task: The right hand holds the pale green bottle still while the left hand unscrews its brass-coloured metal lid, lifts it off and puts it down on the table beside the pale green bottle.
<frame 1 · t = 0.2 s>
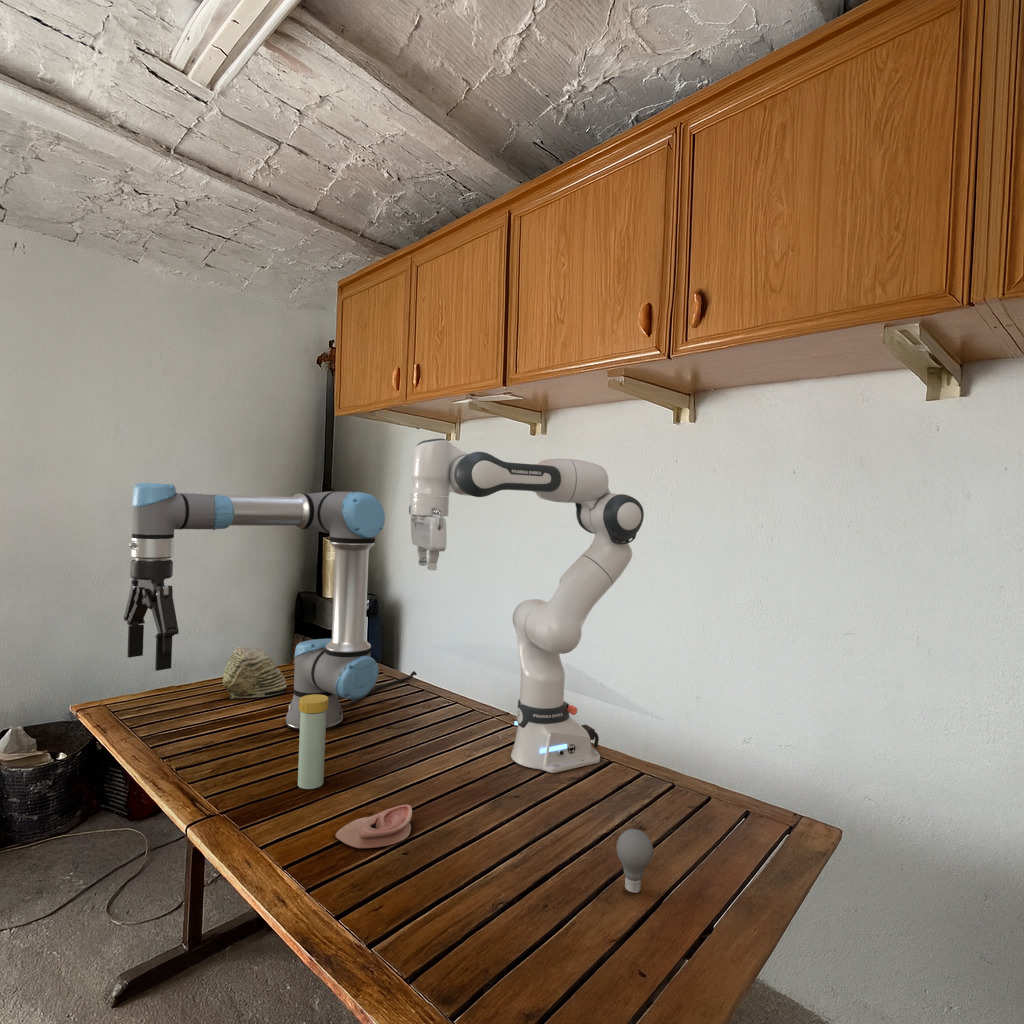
left hand: (148, 662, 129), 28 cm above the table, tool pointing down, fingers open, 13 cm apart
right hand: (427, 567, 147), 48 cm above the table, tool pointing down, fingers open, 8 cm apart
pale green bottle: (310, 783, 140), on the table
anatomical model: (374, 834, 120), on the table
light bulb: (632, 891, 106), on the table
fossil: (254, 694, 198), on the table
lid: (313, 700, 139), point 19 cm above the table, screwed on, not yet turned
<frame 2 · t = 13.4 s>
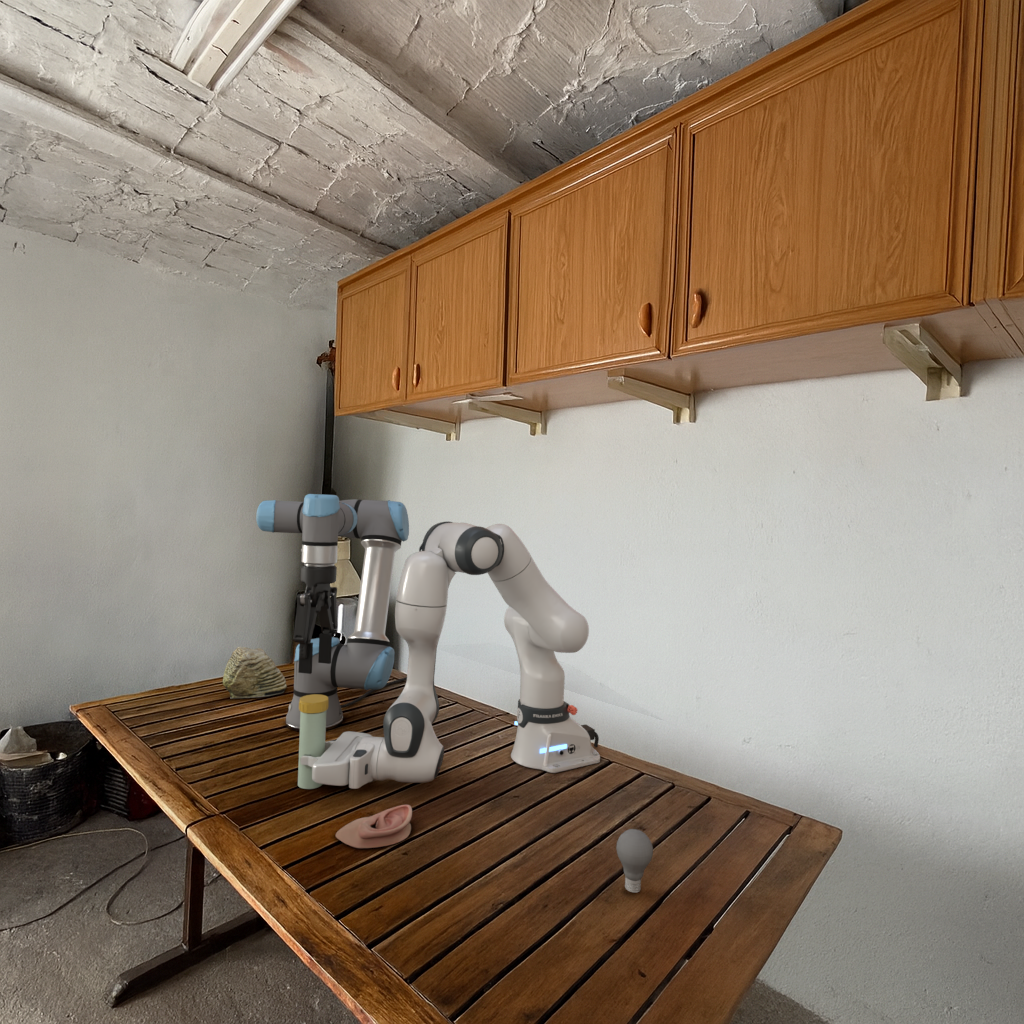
left hand: (315, 667, 139), 26 cm above the table, tool pointing down, fingers open, 8 cm apart
right hand: (307, 753, 140), 7 cm above the table, tool horizontal, fingers closed on pale green bottle, 5 cm apart
pale green bottle: (310, 783, 140), on the table, touching right hand
everything else where it was.
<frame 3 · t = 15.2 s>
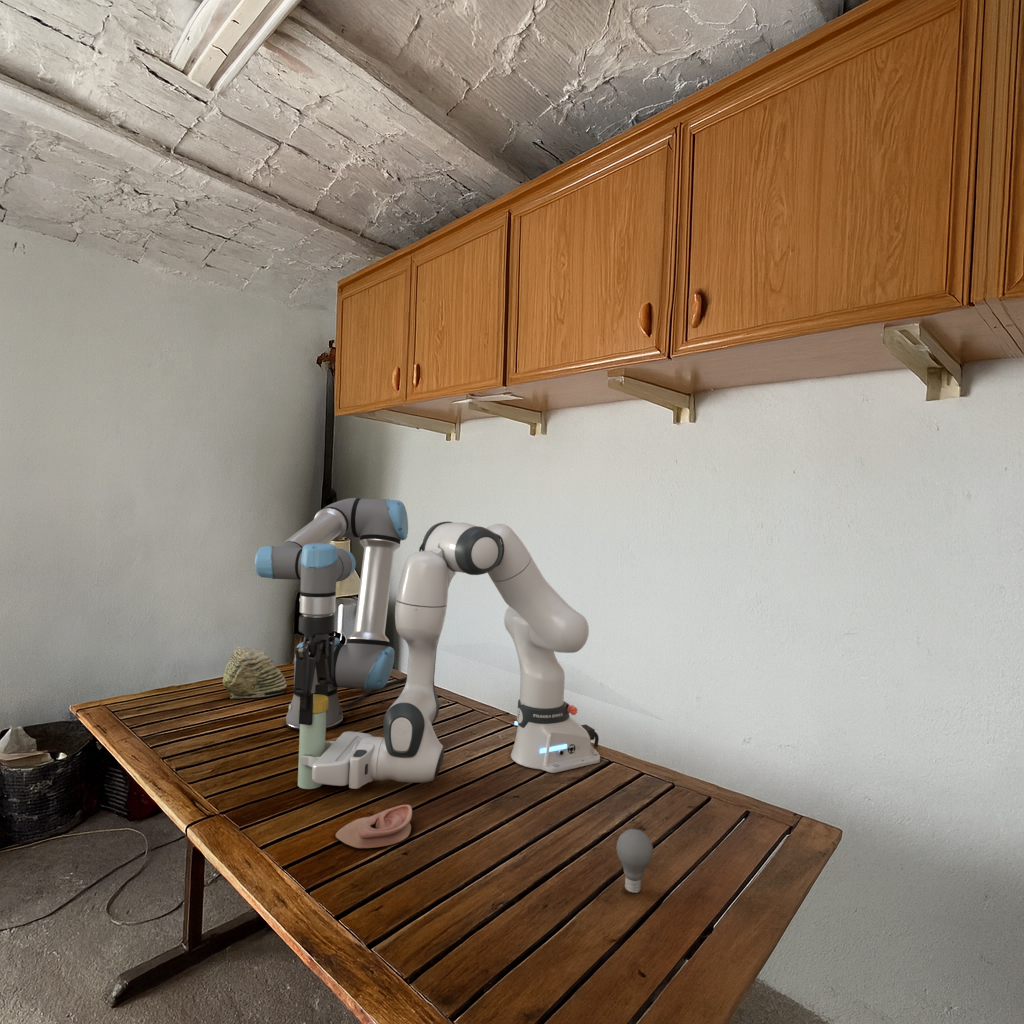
left hand: (313, 718, 139), 14 cm above the table, tool pointing down, fingers closed on lid, 6 cm apart
right hand: (307, 753, 140), 7 cm above the table, tool horizontal, fingers closed on pale green bottle, 5 cm apart
pale green bottle: (310, 783, 140), on the table, touching right hand
lid: (313, 700, 139), point 19 cm above the table, screwed on, not yet turned, touching left hand
everything else where it was.
when the left hand's fingers open (15 cm above the table, at t = 16.4 s): lid stays where it is, point 19 cm above the table.
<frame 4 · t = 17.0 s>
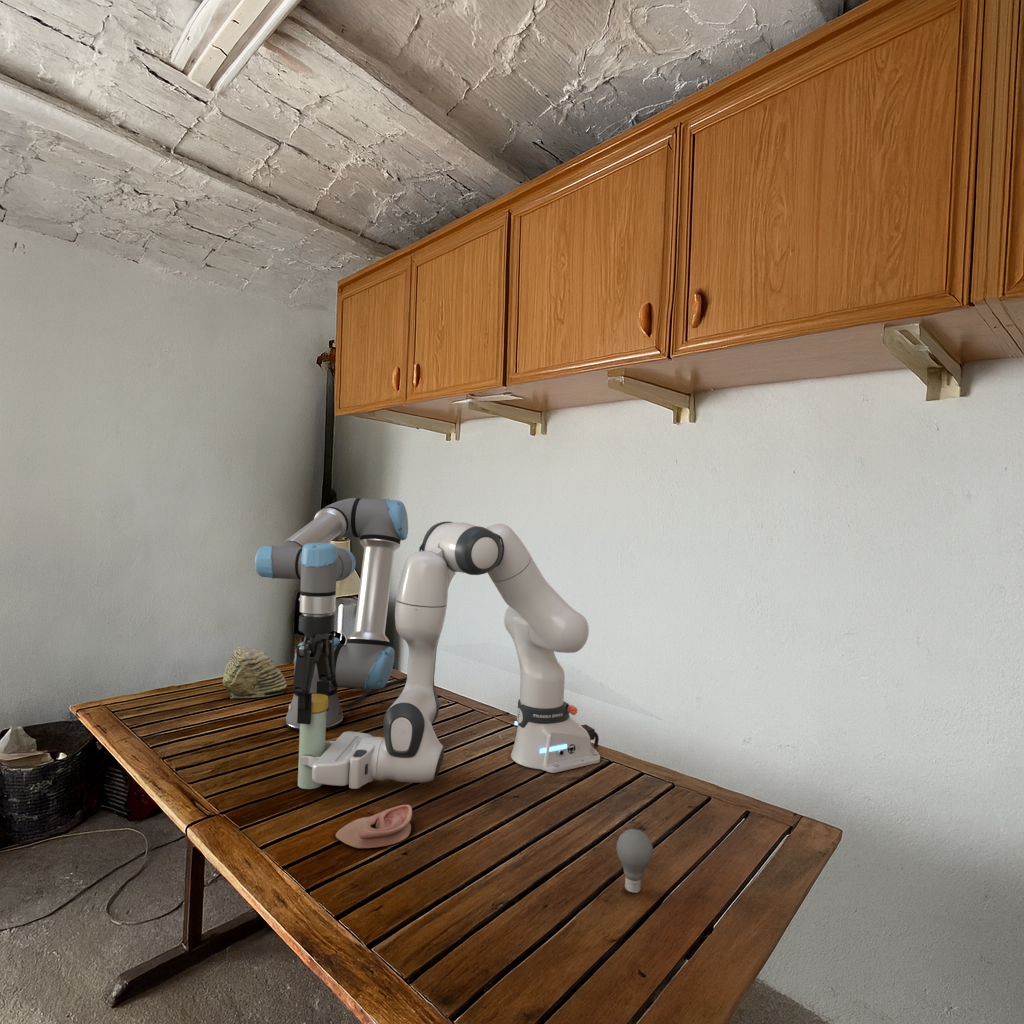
left hand: (313, 716, 139), 15 cm above the table, tool pointing down, fingers open, 8 cm apart
right hand: (307, 753, 140), 7 cm above the table, tool horizontal, fingers closed on pale green bottle, 5 cm apart
pale green bottle: (310, 783, 140), on the table, touching right hand
lid: (313, 699, 139), point 19 cm above the table, turned 57° so far, risen 0.1 cm, still on its thread
everything else where it was.
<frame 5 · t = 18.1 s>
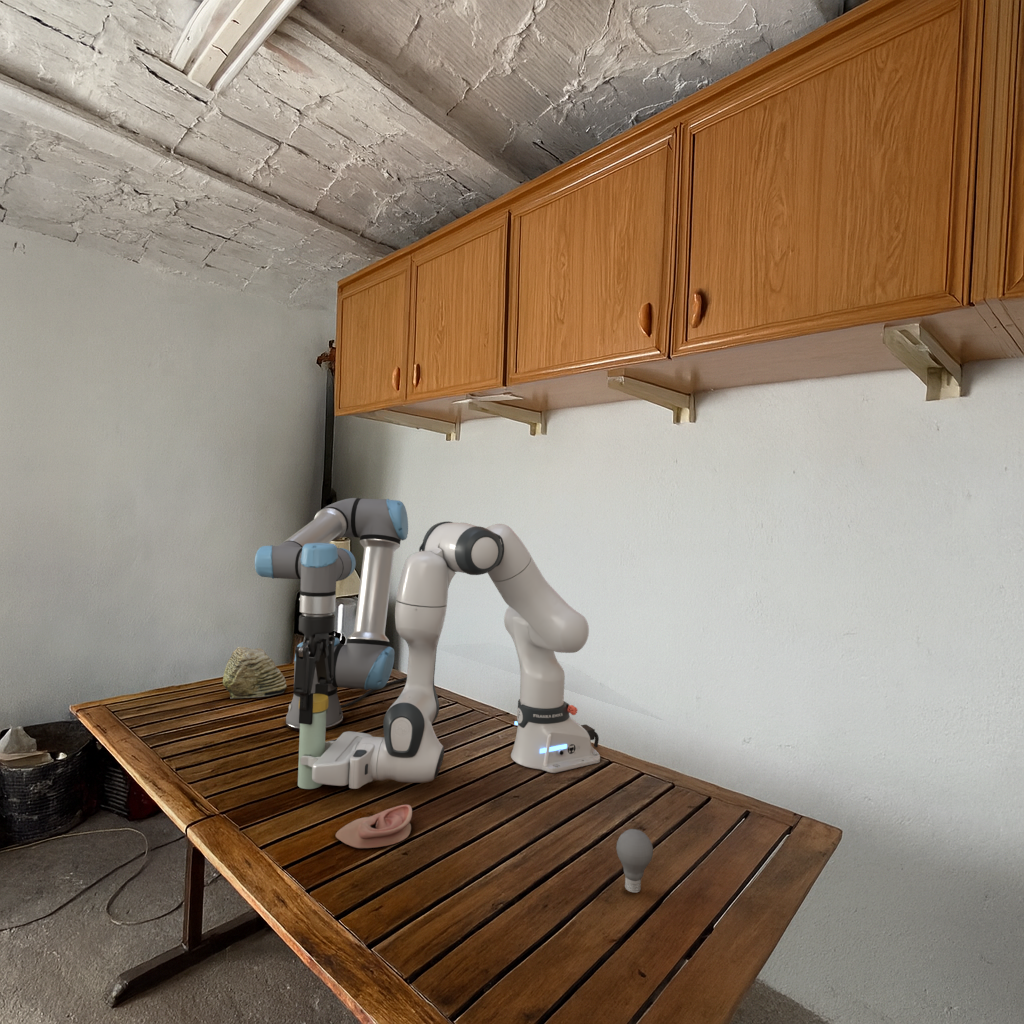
left hand: (313, 718, 139), 15 cm above the table, tool pointing down, fingers closed on lid, 6 cm apart
right hand: (307, 753, 140), 7 cm above the table, tool horizontal, fingers closed on pale green bottle, 5 cm apart
pale green bottle: (310, 783, 140), on the table, touching right hand
lid: (313, 699, 139), point 19 cm above the table, turned 57° so far, risen 0.1 cm, still on its thread, touching left hand
everything else where it was.
when the left hand's fingers open (0 cm above the table, at t = 24.1 s): lid drops 2 cm, point 2 cm above the table.
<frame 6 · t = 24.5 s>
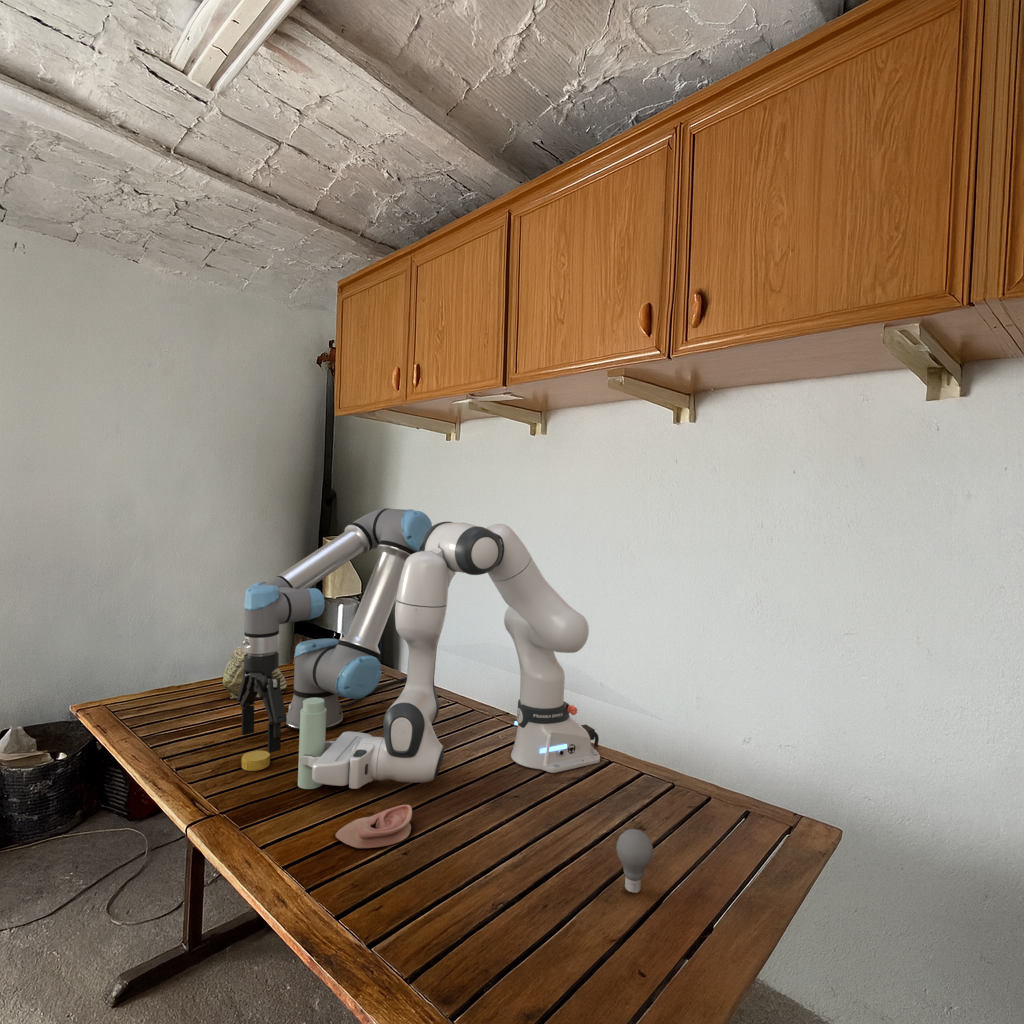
left hand: (260, 742, 148), 5 cm above the table, tool pointing down, fingers open, 13 cm apart
right hand: (307, 753, 140), 7 cm above the table, tool horizontal, fingers closed on pale green bottle, 5 cm apart
pale green bottle: (310, 783, 140), on the table, touching right hand
lid: (256, 757, 148), point 2 cm above the table, off its thread
everything else where it was.
when the right hand's fingers open (7 cm above the table, at t = 24.9 s): pale green bottle stays where it is, on the table.
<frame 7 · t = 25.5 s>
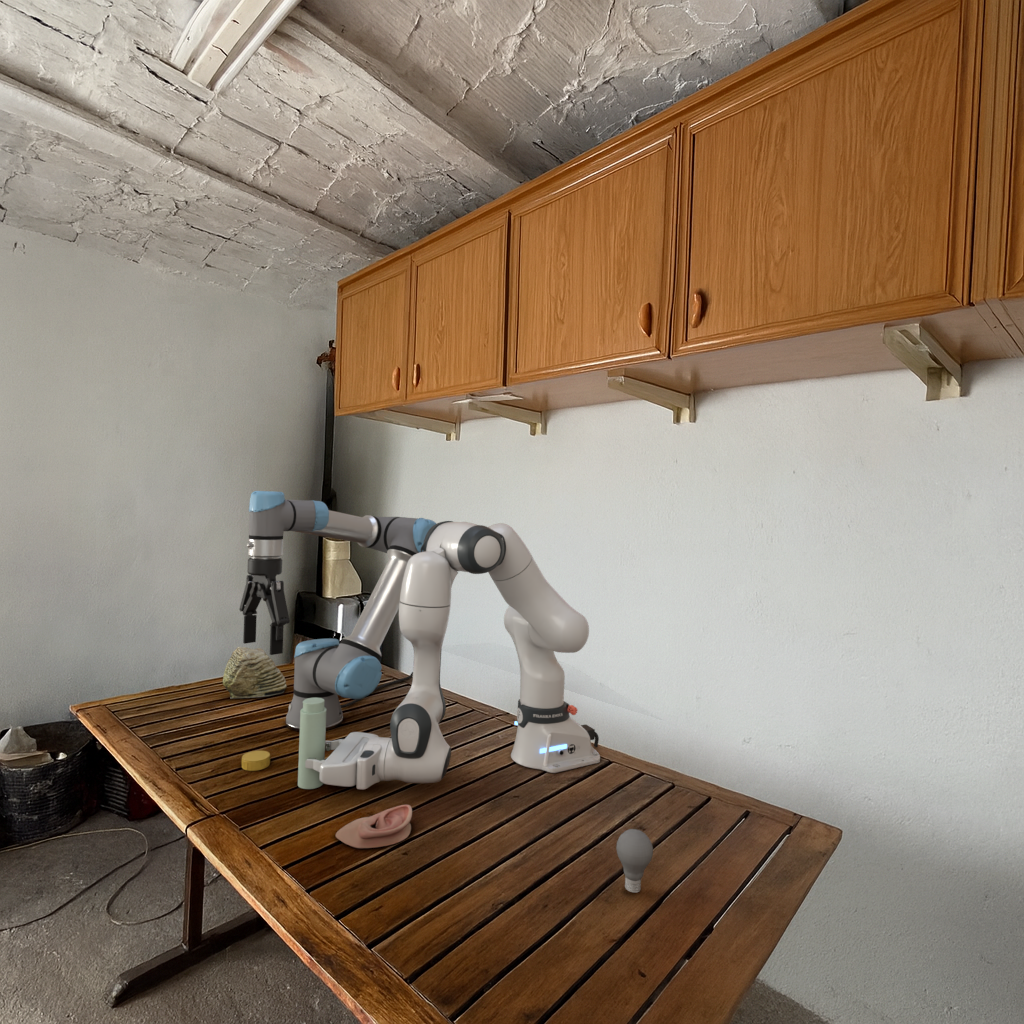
left hand: (262, 648, 148), 27 cm above the table, tool pointing down, fingers open, 13 cm apart
right hand: (315, 753, 140), 7 cm above the table, tool horizontal, fingers open, 8 cm apart
pale green bottle: (310, 783, 140), on the table
everything else where it was.
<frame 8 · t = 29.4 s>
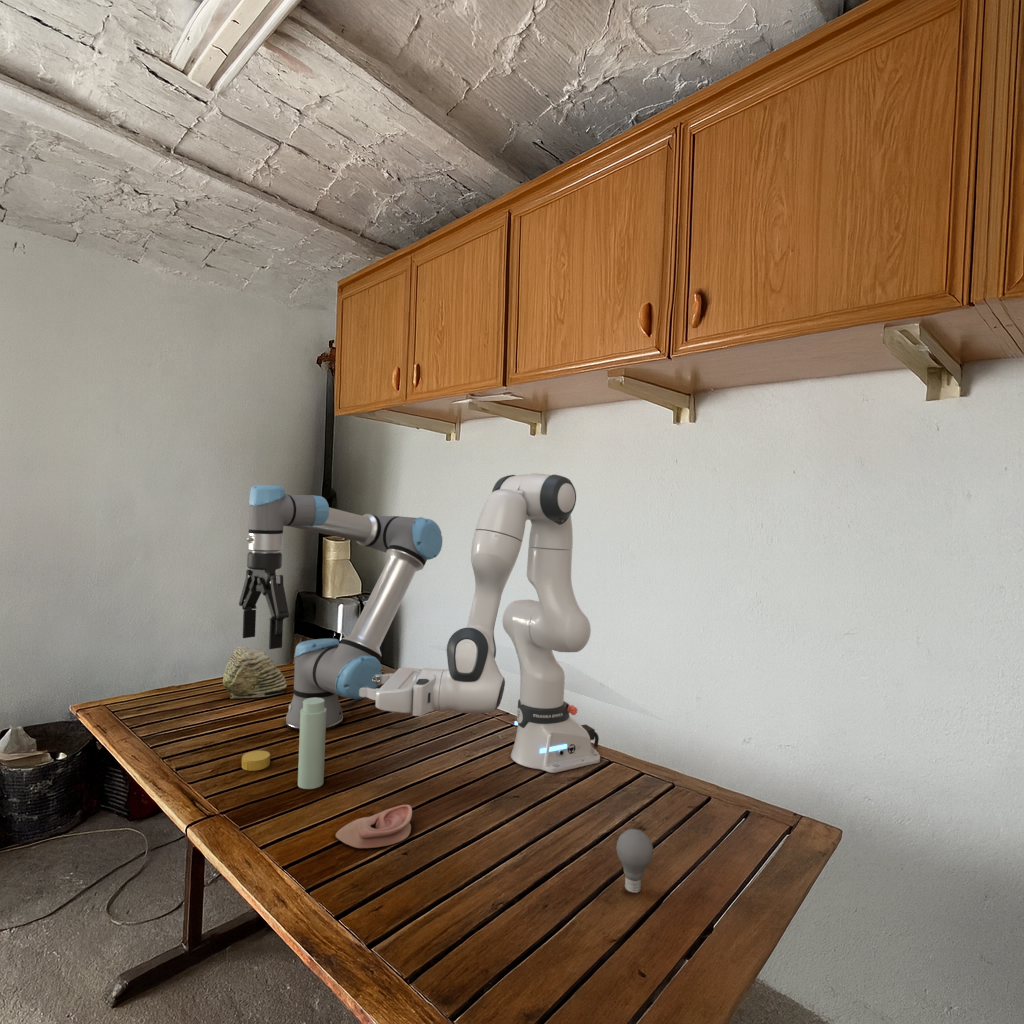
left hand: (261, 642, 147), 29 cm above the table, tool pointing down, fingers open, 13 cm apart
right hand: (366, 685, 138), 23 cm above the table, tool horizontal, fingers open, 8 cm apart
nothing on the table moved.
at the end: lid came off its thread; lid point 1.9 cm above the table; the left hand is holding nothing; the right hand is holding nothing; pale green bottle tilted 0°; pale green bottle moved 0.0 cm from its start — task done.
